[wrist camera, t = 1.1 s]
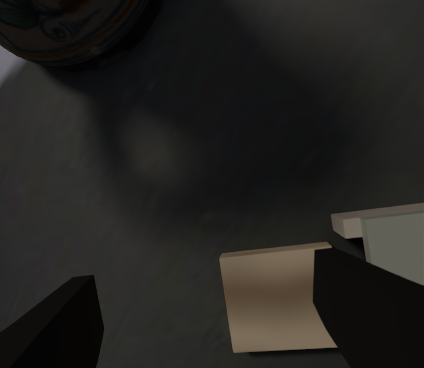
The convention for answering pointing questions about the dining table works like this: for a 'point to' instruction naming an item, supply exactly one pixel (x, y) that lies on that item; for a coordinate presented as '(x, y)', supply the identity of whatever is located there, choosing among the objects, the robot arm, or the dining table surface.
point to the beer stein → (74, 30)
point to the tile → (273, 299)
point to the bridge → (388, 237)
